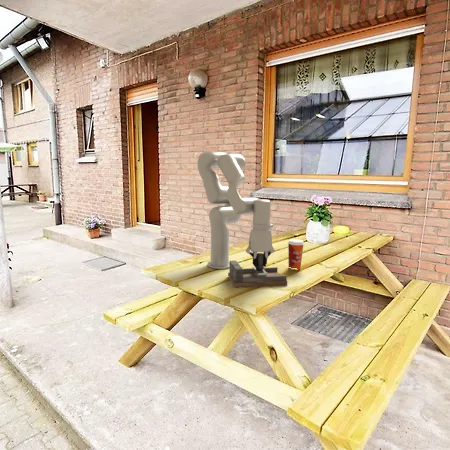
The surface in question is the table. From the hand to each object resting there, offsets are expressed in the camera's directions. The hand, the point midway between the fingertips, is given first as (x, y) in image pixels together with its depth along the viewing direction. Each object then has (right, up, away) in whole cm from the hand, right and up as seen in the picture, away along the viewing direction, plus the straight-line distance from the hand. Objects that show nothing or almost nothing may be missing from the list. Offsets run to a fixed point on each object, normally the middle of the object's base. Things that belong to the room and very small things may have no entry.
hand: (259, 265), depth 154 cm
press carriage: (0, -5, +1) cm, 5 cm away
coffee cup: (+20, -4, +21) cm, 29 cm away
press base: (-1, -7, +1) cm, 7 cm away
